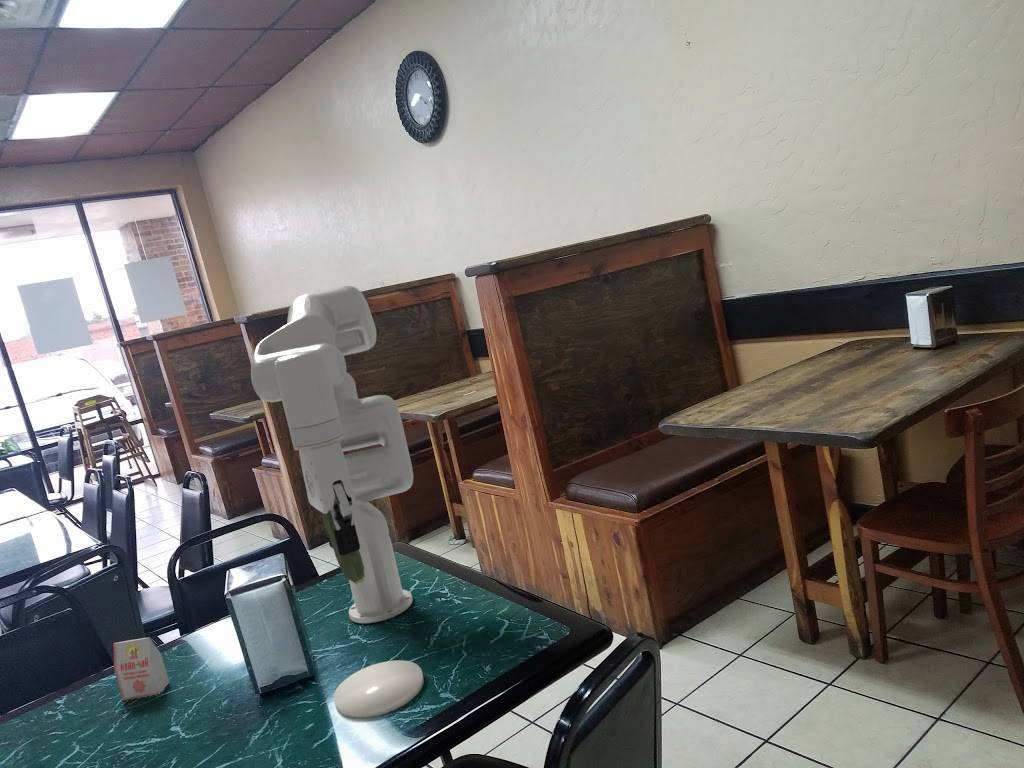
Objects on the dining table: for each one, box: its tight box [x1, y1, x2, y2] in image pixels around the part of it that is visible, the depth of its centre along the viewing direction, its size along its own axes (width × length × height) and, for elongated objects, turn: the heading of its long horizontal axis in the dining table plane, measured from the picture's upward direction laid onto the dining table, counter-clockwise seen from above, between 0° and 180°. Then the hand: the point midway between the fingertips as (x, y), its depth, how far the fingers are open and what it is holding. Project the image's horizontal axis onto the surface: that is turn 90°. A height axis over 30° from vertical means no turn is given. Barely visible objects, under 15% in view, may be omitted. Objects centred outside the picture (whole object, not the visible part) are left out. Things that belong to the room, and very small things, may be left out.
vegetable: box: [320, 504, 365, 585], centre depth 119 cm, size 4×4×20 cm
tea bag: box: [112, 636, 170, 701], centre depth 138 cm, size 4×7×10 cm, turn 87°
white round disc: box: [333, 659, 425, 719], centre depth 123 cm, size 14×14×1 cm
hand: (345, 547), depth 119 cm, fingers closed on vegetable, 4 cm apart
